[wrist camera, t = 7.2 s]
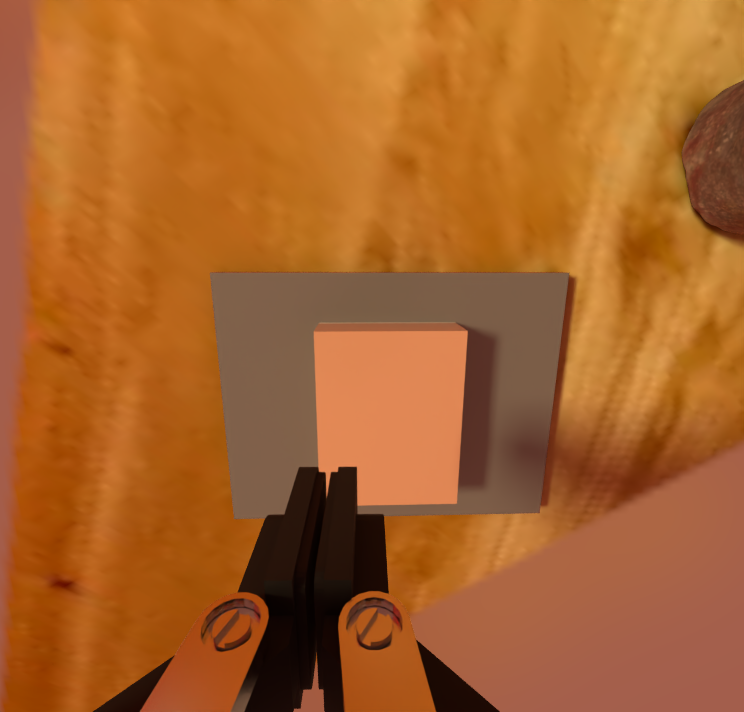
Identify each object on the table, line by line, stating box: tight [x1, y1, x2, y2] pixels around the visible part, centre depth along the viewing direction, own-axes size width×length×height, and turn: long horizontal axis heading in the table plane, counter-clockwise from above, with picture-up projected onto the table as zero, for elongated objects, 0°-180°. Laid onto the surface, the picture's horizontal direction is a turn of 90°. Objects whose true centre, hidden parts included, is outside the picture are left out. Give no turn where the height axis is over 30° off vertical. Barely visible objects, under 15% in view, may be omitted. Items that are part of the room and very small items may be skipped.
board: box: [210, 272, 569, 519], centre depth 22 cm, size 18×14×1 cm
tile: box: [314, 322, 468, 506], centre depth 20 cm, size 2×9×7 cm
